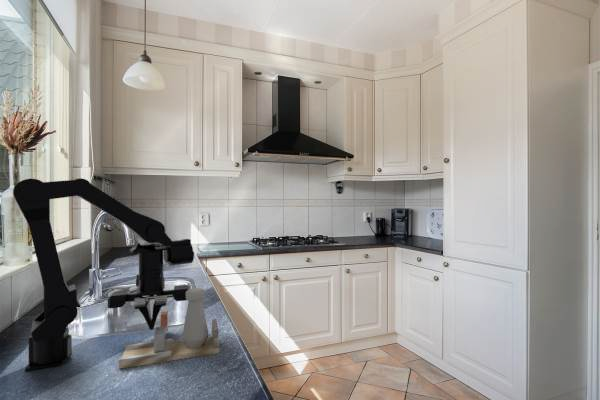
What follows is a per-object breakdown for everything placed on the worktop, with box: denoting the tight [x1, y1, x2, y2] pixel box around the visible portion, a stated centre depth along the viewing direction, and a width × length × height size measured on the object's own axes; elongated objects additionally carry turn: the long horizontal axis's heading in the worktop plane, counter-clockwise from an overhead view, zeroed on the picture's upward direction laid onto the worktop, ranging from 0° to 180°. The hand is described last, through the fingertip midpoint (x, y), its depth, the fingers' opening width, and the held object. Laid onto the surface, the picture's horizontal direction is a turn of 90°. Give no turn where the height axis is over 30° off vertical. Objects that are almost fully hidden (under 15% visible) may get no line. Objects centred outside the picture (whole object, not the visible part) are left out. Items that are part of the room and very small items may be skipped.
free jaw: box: [153, 311, 169, 353], centre depth 76 cm, size 2×16×4 cm, turn 19°
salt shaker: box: [182, 287, 209, 349], centre depth 74 cm, size 6×6×13 cm
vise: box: [118, 318, 220, 369], centre depth 72 cm, size 20×7×5 cm, turn 109°
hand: (151, 329), depth 82 cm, fingers closed
